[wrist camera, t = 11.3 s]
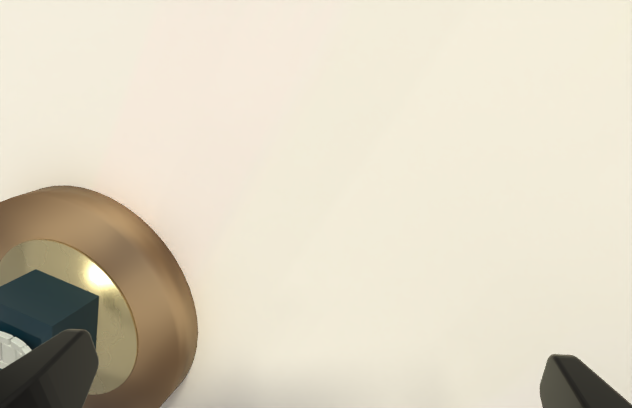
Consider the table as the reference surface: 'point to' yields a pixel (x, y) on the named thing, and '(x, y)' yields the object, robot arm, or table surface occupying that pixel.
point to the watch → (41, 313)
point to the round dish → (108, 287)
